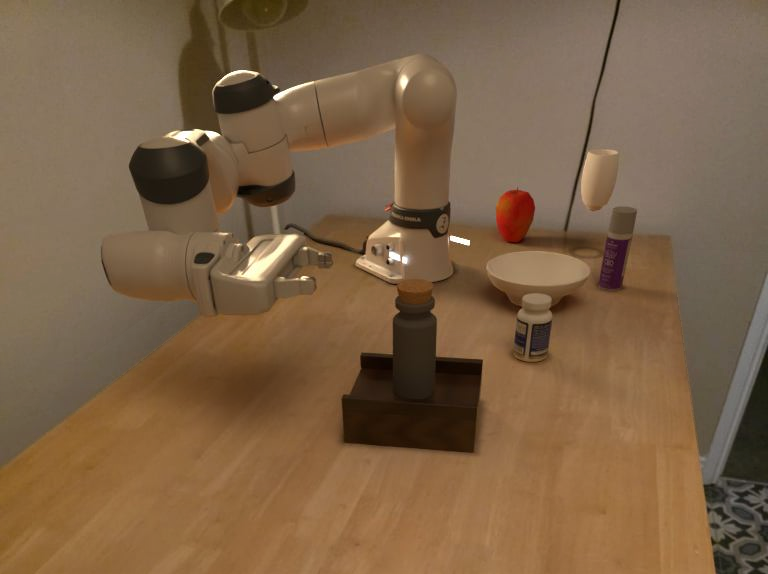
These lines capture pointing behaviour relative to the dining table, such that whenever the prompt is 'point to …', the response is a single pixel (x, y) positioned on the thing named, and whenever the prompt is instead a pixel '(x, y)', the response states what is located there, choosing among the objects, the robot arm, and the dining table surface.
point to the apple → (514, 214)
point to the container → (617, 248)
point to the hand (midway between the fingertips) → (324, 272)
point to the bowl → (537, 274)
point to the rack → (414, 406)
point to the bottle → (414, 340)
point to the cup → (599, 178)
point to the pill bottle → (533, 328)
